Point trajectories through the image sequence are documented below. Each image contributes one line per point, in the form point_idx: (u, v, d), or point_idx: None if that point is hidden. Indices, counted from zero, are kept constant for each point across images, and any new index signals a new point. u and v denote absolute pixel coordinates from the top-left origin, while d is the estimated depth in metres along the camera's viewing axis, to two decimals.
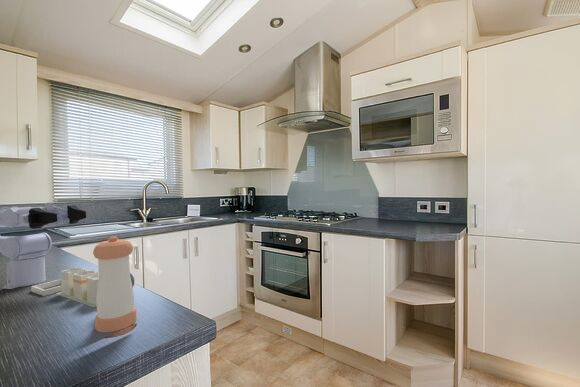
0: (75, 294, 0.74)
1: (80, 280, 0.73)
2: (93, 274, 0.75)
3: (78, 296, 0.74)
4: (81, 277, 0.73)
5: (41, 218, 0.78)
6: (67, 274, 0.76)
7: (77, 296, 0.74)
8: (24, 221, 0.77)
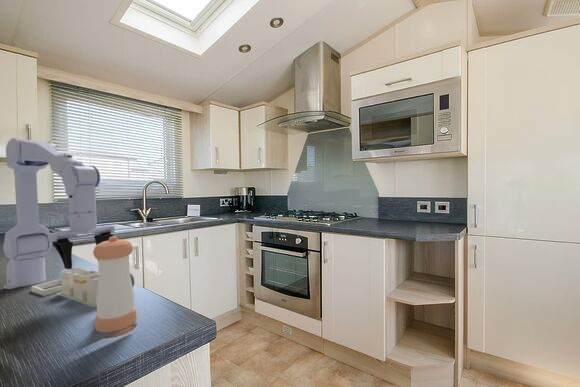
0: (75, 294, 0.74)
1: (80, 280, 0.73)
2: (93, 274, 0.75)
3: (78, 296, 0.74)
4: (81, 277, 0.73)
5: None
6: (67, 274, 0.76)
7: (77, 296, 0.74)
8: None
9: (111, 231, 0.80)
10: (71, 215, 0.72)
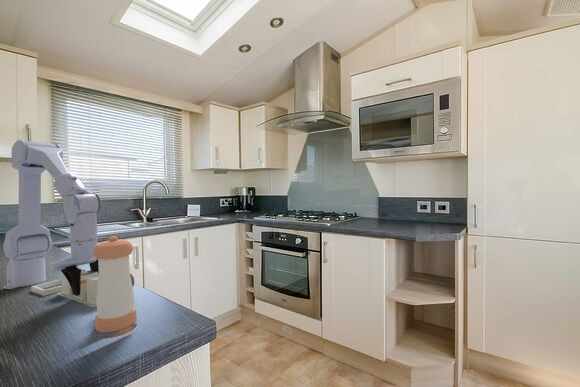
0: None
1: (80, 280, 0.73)
2: (93, 274, 0.75)
3: (78, 296, 0.74)
4: (81, 277, 0.73)
5: None
6: None
7: (77, 296, 0.74)
8: None
9: None
10: (72, 243, 0.72)
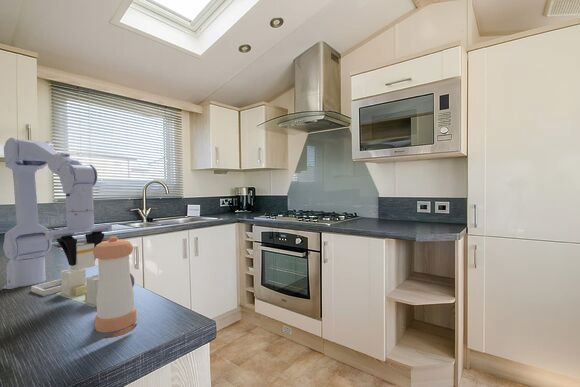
0: (71, 265, 0.75)
1: (76, 250, 0.73)
2: (89, 245, 0.75)
3: (74, 266, 0.74)
4: (76, 247, 0.73)
5: None
6: (67, 274, 0.76)
7: (73, 266, 0.74)
8: None
9: (108, 229, 0.81)
10: (68, 213, 0.73)
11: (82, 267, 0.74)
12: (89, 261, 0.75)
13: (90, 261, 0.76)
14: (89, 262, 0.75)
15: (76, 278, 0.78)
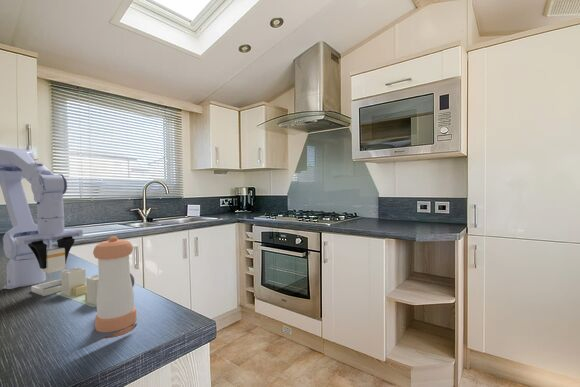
0: None
1: (47, 254, 0.78)
2: (60, 250, 0.81)
3: (45, 270, 0.79)
4: (47, 252, 0.78)
5: None
6: (67, 274, 0.76)
7: (44, 270, 0.79)
8: (18, 244, 0.75)
9: (79, 235, 0.86)
10: (39, 220, 0.78)
11: (53, 270, 0.79)
12: (60, 265, 0.81)
13: (61, 264, 0.81)
14: (60, 265, 0.81)
15: (76, 278, 0.78)
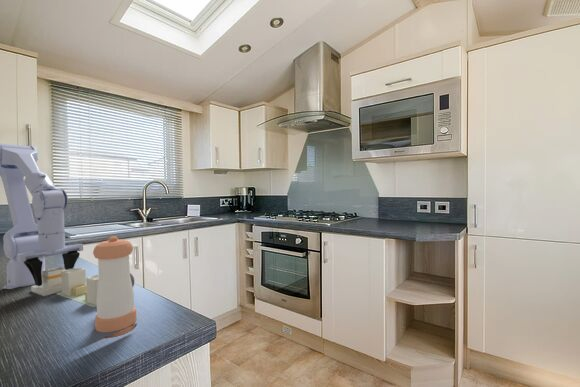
0: None
1: (47, 276, 0.78)
2: (60, 270, 0.81)
3: None
4: (48, 273, 0.78)
5: None
6: (67, 274, 0.76)
7: None
8: None
9: (80, 249, 0.86)
10: (39, 236, 0.78)
11: None
12: (60, 285, 0.81)
13: None
14: None
15: (76, 278, 0.78)
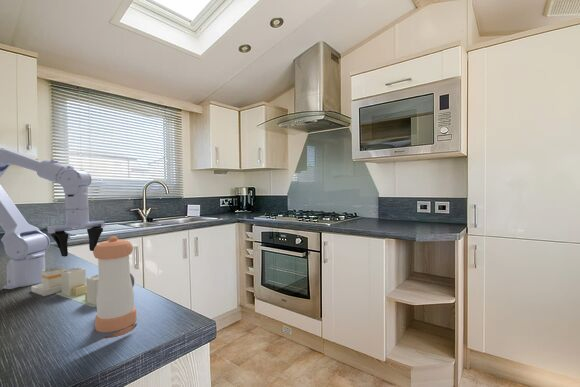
0: None
1: (47, 276, 0.78)
2: (60, 270, 0.81)
3: None
4: (48, 273, 0.78)
5: None
6: (67, 274, 0.76)
7: None
8: None
9: (101, 225, 0.94)
10: (67, 211, 0.86)
11: None
12: (60, 285, 0.81)
13: None
14: None
15: (76, 278, 0.78)
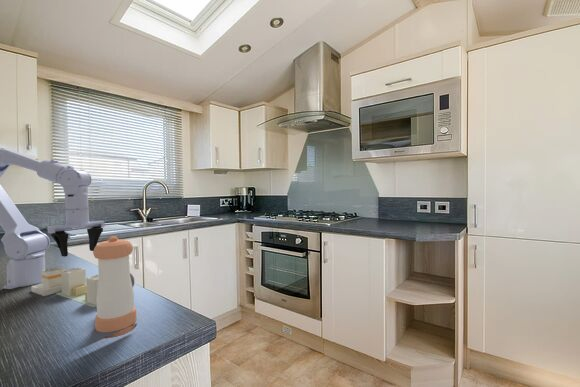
0: None
1: (47, 276, 0.78)
2: (60, 270, 0.81)
3: None
4: (48, 273, 0.78)
5: None
6: (67, 274, 0.76)
7: None
8: None
9: (101, 225, 0.94)
10: (67, 211, 0.86)
11: None
12: (60, 285, 0.81)
13: None
14: None
15: (76, 278, 0.78)
